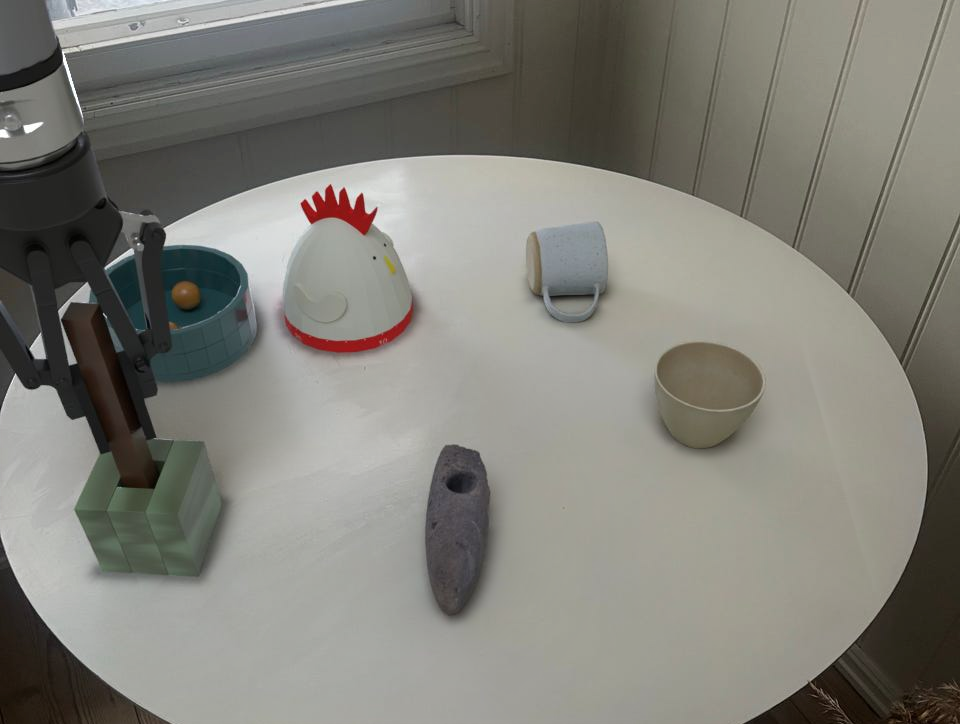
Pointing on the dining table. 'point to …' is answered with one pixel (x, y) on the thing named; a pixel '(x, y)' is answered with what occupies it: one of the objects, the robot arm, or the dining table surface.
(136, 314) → the bowl
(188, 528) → the holder
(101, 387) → the stick
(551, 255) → the ceramic mug
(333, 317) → the kitchen timer
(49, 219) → the robot arm
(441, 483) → the perforated stone tool
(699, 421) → the small beige bowl
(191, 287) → the bead
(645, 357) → the dining table surface
